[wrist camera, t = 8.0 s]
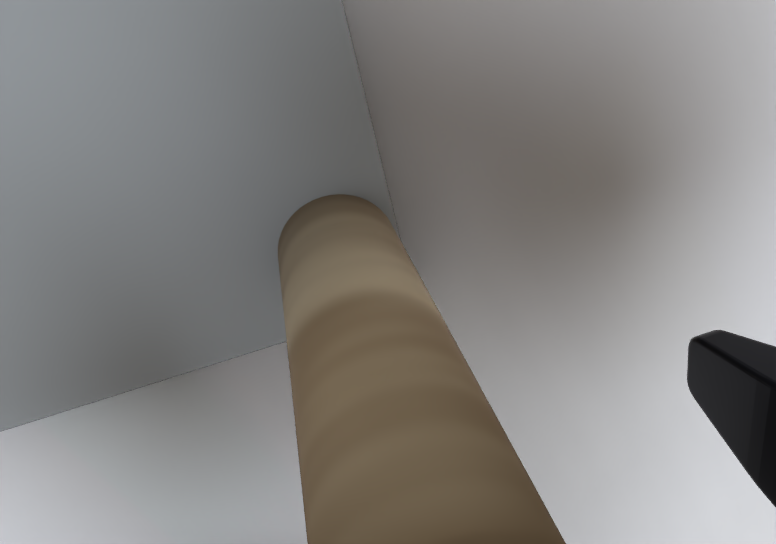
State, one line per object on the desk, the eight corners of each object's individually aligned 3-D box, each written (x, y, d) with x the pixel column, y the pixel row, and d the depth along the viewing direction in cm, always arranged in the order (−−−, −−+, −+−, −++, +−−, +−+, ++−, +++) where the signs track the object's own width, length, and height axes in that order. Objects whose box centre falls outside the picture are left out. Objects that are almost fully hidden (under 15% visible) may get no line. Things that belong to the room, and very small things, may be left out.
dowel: (406, 282, 15) (588, 649, 7) (298, 315, 14) (358, 734, 7) (381, 179, 13) (573, 493, 5) (260, 214, 13) (281, 595, 5)
